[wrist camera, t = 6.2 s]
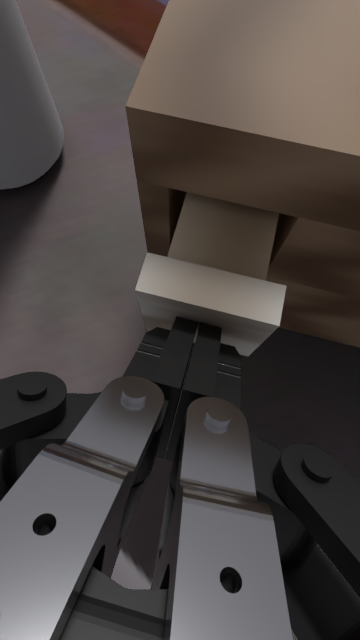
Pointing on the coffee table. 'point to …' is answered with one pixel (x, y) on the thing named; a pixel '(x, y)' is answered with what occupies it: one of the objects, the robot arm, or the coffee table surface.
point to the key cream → (215, 273)
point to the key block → (261, 139)
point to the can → (24, 106)
